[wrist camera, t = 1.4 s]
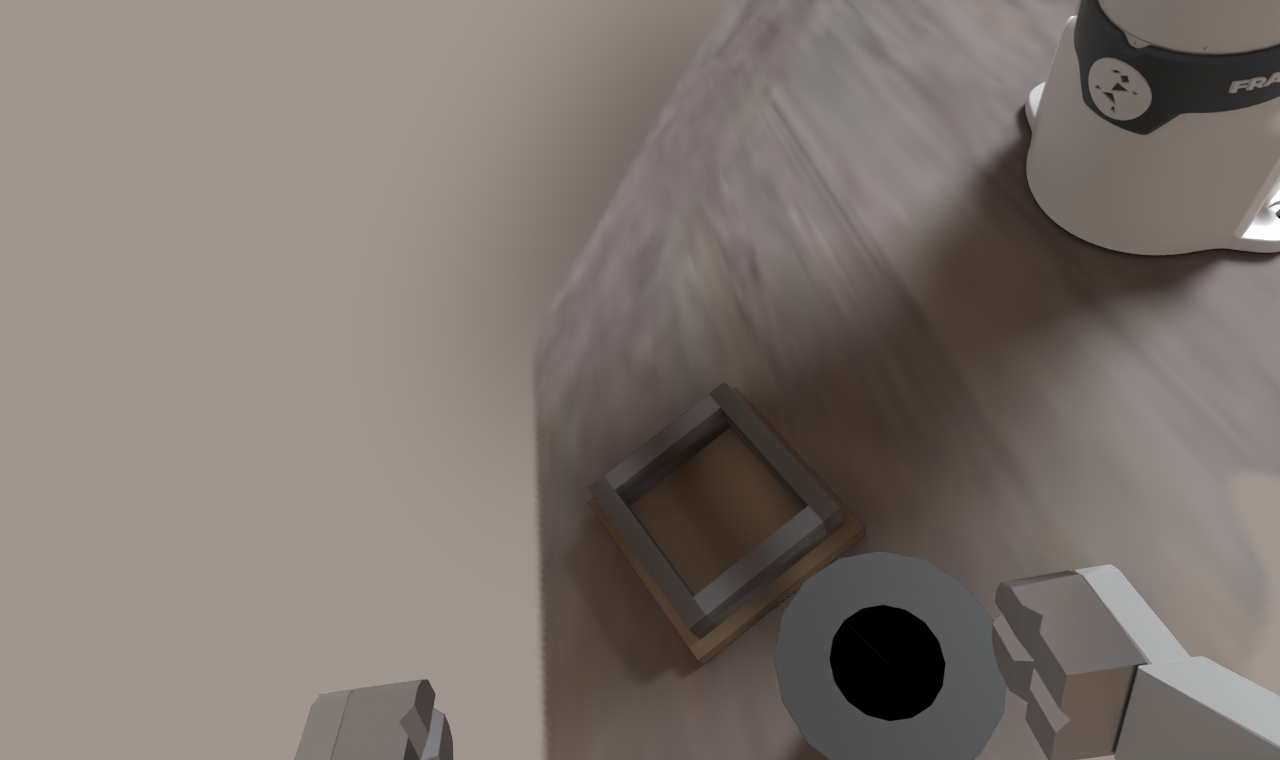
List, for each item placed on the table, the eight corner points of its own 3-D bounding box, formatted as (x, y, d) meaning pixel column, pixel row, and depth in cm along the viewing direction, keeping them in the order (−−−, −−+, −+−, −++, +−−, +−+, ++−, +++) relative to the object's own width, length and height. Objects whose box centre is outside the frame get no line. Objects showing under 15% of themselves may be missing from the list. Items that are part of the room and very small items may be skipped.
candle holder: (810, 731, 43) (716, 654, 22) (891, 649, 44) (876, 496, 22) (902, 834, 40) (897, 861, 18) (988, 743, 40) (1077, 668, 19)
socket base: (739, 397, 53) (726, 365, 49) (865, 534, 47) (862, 509, 43) (595, 510, 52) (570, 486, 48) (703, 664, 46) (685, 651, 42)
